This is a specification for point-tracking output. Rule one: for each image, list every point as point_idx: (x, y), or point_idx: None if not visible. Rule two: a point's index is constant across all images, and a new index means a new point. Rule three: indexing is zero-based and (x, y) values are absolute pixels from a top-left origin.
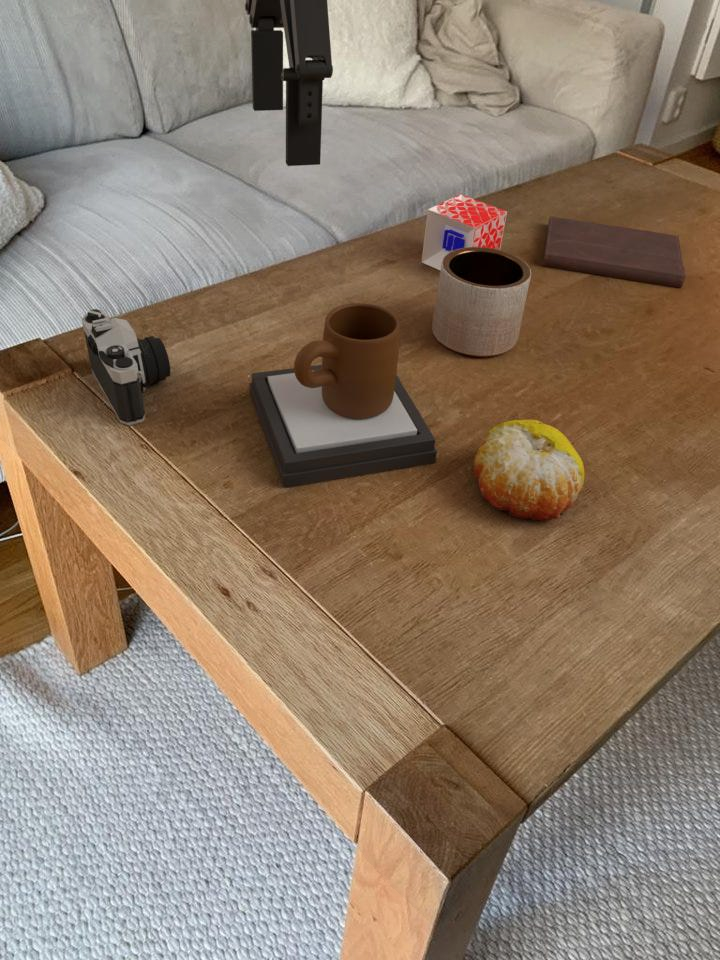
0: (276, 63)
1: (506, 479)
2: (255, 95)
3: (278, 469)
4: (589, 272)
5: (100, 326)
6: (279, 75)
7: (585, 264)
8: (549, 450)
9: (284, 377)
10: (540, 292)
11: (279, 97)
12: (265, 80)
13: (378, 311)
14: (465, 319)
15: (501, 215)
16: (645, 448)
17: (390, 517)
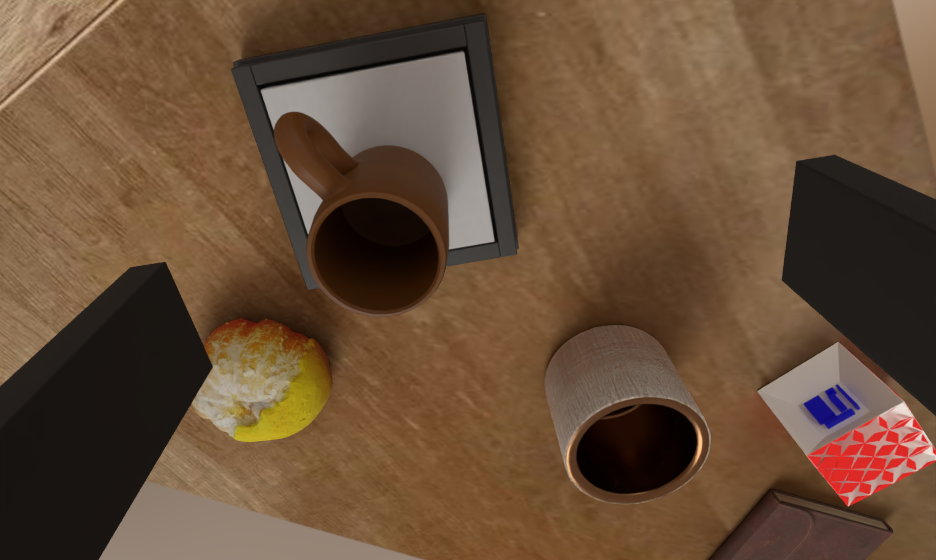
0: (926, 368)
1: None
2: (835, 189)
3: (269, 54)
4: (733, 532)
5: None
6: (876, 345)
7: (742, 537)
8: (243, 417)
9: (458, 83)
10: (701, 470)
11: (814, 291)
12: (877, 267)
13: (428, 287)
14: (568, 384)
15: (846, 495)
16: (353, 488)
17: (199, 203)
